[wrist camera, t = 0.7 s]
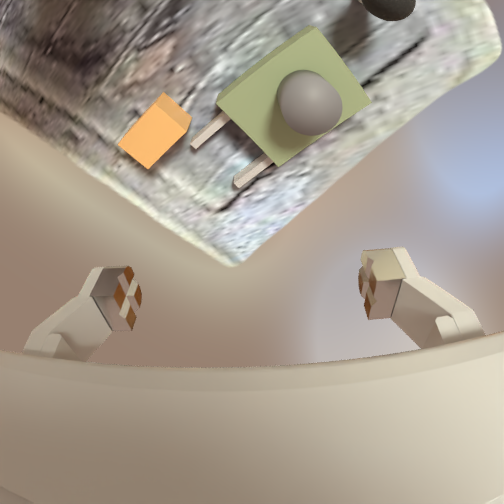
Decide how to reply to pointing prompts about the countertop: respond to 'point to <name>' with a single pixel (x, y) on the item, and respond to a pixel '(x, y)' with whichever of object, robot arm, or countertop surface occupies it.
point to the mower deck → (262, 93)
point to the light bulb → (389, 8)
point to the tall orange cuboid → (155, 131)
